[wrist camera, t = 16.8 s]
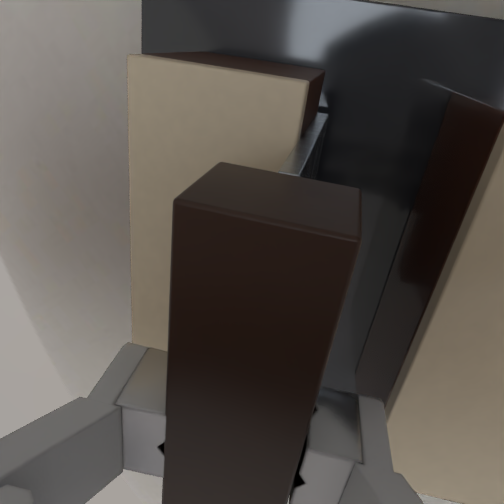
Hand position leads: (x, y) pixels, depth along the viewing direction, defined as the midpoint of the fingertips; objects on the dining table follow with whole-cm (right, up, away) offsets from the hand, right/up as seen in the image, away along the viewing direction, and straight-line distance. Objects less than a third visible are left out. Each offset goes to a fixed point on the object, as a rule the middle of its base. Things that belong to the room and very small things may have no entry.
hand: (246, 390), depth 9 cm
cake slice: (0, +4, +7) cm, 8 cm away
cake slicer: (+2, +3, +6) cm, 7 cm away
